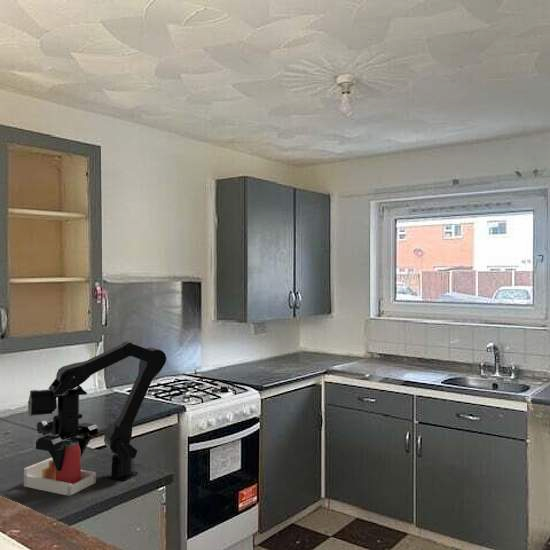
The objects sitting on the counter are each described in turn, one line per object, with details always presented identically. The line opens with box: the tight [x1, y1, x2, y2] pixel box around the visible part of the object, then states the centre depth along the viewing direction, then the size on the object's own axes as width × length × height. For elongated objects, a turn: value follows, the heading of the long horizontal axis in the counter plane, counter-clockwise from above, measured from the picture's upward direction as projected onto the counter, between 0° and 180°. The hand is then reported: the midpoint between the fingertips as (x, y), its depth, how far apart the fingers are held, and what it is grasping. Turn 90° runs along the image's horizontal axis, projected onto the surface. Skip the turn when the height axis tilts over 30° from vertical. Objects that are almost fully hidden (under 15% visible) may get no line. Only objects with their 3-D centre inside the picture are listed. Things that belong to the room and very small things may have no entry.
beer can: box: [56, 439, 82, 484], centre depth 159 cm, size 7×7×12 cm
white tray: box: [23, 457, 97, 497], centre depth 160 cm, size 10×16×5 cm, turn 68°
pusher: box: [42, 460, 56, 480], centre depth 161 cm, size 8×1×6 cm, turn 158°
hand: (67, 466), depth 159 cm, fingers closed on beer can, 7 cm apart
